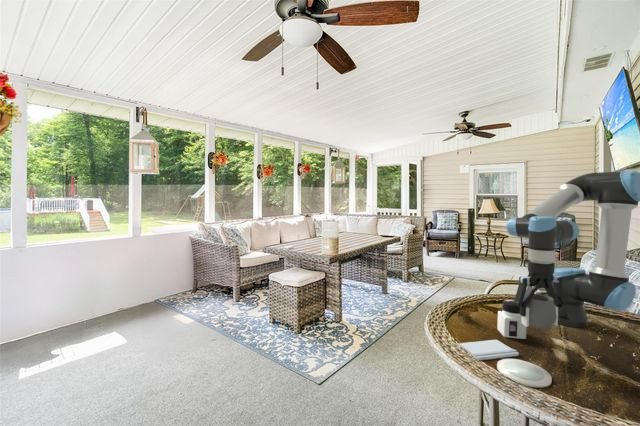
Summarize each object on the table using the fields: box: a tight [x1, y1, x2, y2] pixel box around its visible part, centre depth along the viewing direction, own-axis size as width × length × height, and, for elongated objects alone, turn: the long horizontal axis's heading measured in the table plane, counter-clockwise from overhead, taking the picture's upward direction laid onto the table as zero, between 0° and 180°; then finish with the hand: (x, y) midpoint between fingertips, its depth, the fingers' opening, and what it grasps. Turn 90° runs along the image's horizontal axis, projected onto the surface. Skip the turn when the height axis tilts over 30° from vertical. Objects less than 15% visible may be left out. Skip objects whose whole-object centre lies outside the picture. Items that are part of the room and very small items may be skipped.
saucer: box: [496, 358, 553, 388], centre depth 95 cm, size 14×14×1 cm
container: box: [496, 299, 527, 340], centre depth 122 cm, size 8×8×13 cm
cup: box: [527, 293, 557, 329], centre depth 108 cm, size 10×9×10 cm
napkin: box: [458, 339, 520, 361], centre depth 109 cm, size 16×10×1 cm, turn 102°
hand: (539, 324), depth 108 cm, fingers closed on cup, 9 cm apart
